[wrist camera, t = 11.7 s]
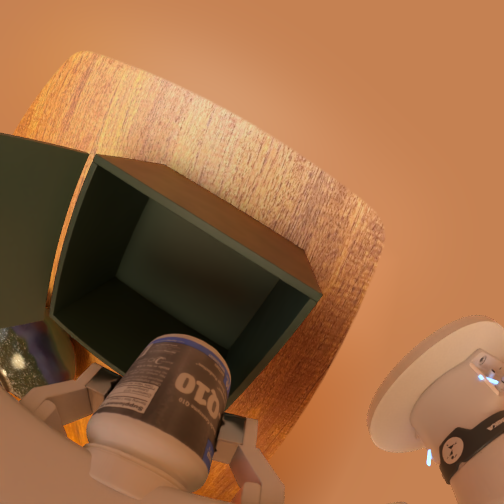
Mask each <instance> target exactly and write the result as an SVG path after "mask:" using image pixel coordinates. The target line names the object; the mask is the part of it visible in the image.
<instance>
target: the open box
mask: <svg viewBox="0 0 504 504" xmlns="http://www.w3.org/2000/svg"><path fill="white" fill-rule="evenodd" d="M322 296H323V294H322V292H321V289H320V287H319V285H318V282H317V280H316V277H315V275H314V273H313V270H312V268H311V266H310V263H309V261H308V259H307V256H306V254H305V252H304V250H303V249H301V248H299V247H298V246H296V245H295V244H293V243H292V242H290V241H289V240H287V239H285V238H284V237H282V236H281V235H279V234H278V233H276V232H274V231H273V230H271V229H270V228H268V227H267V226H265V225H263V224H262V223H260V222H259V221H257V220H255V219H254V218H252V217H251V216H249V215H247V214H246V213H244V212H242V211H241V210H239V209H238V208H236V207H234V206H233V205H231V204H229V203H228V202H226V201H224V200H223V199H221V198H220V197H218V196H216V195H215V194H213V193H211V192H210V191H208V190H206V189H205V188H203V187H201V186H200V185H198V184H196V183H195V182H193V181H191V180H190V179H188V178H186V177H184V176H183V175H181V174H179V173H178V172H176V171H174V170H172V169H171V168H169V167H167V166H166V165H163V164H158V163H152V162H146V161H140V160H134V159H128V158H122V157H115V156H108V155H100V154H96V155H95V157H94V159H93V162H92V164H91V166H90V168H89V171H88V173H87V176H86V178H85V181H84V183H83V186H82V188H81V191H80V194H79V196H78V199H77V202H76V205H75V208H74V211H73V213H72V217H71V220H70V223H69V226H68V229H67V233H66V236H65V240H64V243H63V247H62V251H61V255H60V259H59V263H58V267H57V272H56V276H55V281H54V286H53V292H52V297H51V303H50V310H49V316H50V317H51V318H52V319H53V320H54V321H55V322H56V323H57V324H58V325H59V326H60V327H61V328H62V329H63V330H65V331H66V332H67V333H68V334H69V335H70V336H71V337H73V338H74V339H75V340H76V341H77V342H78V343H80V344H81V345H82V346H83V347H84V348H86V349H87V350H88V351H89V352H91V353H92V354H93V355H94V356H96V357H97V358H98V359H100V360H101V361H102V362H104V363H105V364H106V365H108V366H109V367H110V368H112V369H113V370H115V371H116V372H117V373H119V374H120V375H122V376H124V375H125V374H126V372H127V371H128V370H129V368H130V367H131V366H132V364H133V363H134V362H135V361H136V359H137V358H138V357H139V356H140V354H141V353H142V352H143V350H144V349H145V348H146V347H147V346H148V344H149V343H150V342H151V341H153V340H154V339H156V338H157V337H160V336H163V335H167V334H185V335H189V336H192V337H195V338H198V339H200V340H202V341H204V342H206V343H207V344H209V345H210V346H212V347H213V348H215V349H216V350H217V351H218V352H219V354H220V355H221V356H222V357H223V359H224V360H225V362H226V364H227V366H228V368H229V371H230V375H231V385H230V391H229V395H228V399H227V403H226V407H225V410H224V412H225V411H226V410H227V409H228V407H229V406H230V405H231V404H232V403H233V402H234V401H235V400H236V399H237V398H238V397H239V396H240V395H241V394H242V393H243V392H244V390H245V389H246V388H247V387H248V386H249V385H250V384H251V383H252V382H253V380H254V379H255V378H256V377H257V376H258V375H259V374H260V373H261V371H262V370H263V369H264V368H265V367H266V366H267V365H268V363H269V362H270V361H271V360H272V359H273V358H274V356H275V355H276V354H277V353H278V352H279V350H280V349H281V348H282V347H283V346H284V344H285V343H286V342H287V341H288V340H289V338H290V337H291V336H292V335H293V333H294V332H295V331H296V330H297V328H298V327H299V326H300V325H301V323H302V322H303V321H304V320H305V318H306V317H307V316H308V314H309V313H310V312H311V310H312V309H313V308H314V307H315V305H316V304H317V302H318V301H319V300H320V298H321V297H322Z"/></svg>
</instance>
